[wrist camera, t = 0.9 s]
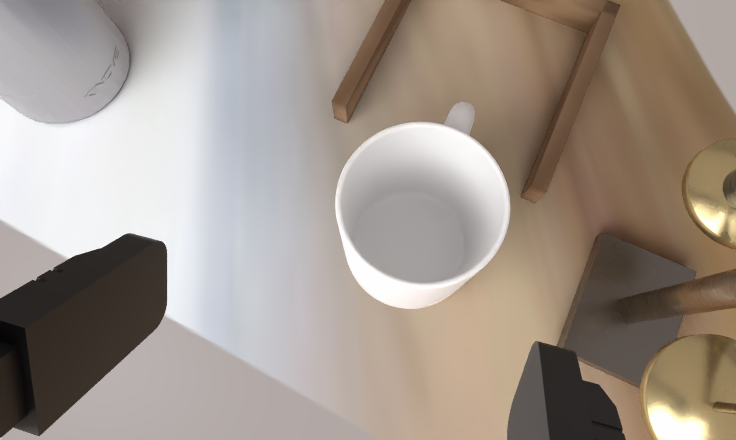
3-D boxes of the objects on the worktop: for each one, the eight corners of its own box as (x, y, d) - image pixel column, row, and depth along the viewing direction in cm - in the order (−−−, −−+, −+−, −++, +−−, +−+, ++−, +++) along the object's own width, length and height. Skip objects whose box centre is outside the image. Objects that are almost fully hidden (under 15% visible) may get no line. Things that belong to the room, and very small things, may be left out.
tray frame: (334, 118, 37) (331, 101, 35) (418, -43, 41) (421, -69, 38) (534, 202, 35) (546, 191, 33) (604, 27, 39) (620, 4, 36)
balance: (532, 413, 32) (707, 468, 15) (615, 183, 36) (827, 28, 19) (628, 458, 31) (920, 567, 14) (702, 219, 35) (1000, 89, 18)
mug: (399, 124, 37) (409, 36, 27) (509, 170, 36) (562, 96, 26) (324, 278, 34) (304, 243, 24) (442, 332, 33) (472, 319, 23)
